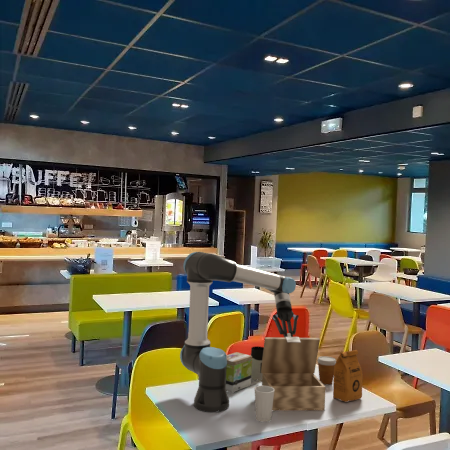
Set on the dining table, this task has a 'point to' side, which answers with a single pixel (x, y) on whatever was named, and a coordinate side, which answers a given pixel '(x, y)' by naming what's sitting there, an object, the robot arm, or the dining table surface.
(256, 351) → the glass holder
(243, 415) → the dining table surface
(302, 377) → the wooden box
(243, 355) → the tea box
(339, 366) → the coffee package
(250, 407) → the dining table surface
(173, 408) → the dining table surface
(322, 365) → the disposable coffee cup
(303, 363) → the box lid
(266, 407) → the cup
